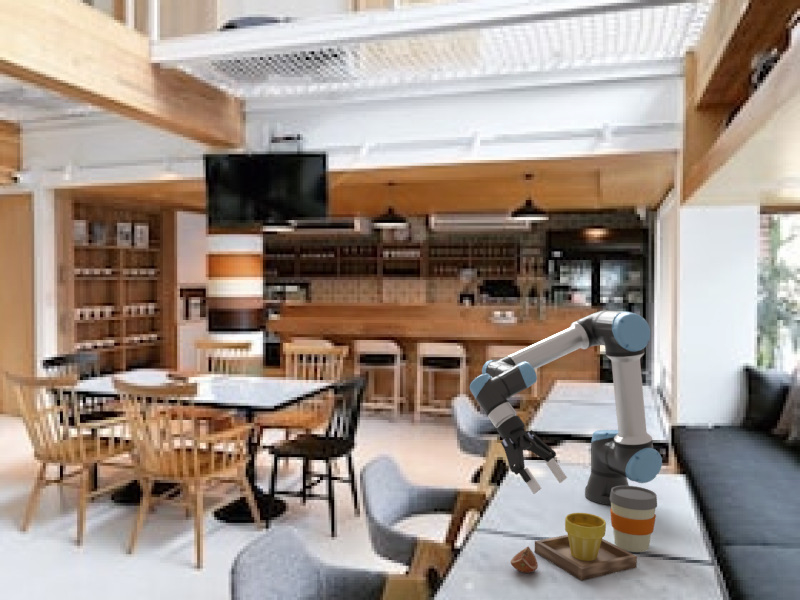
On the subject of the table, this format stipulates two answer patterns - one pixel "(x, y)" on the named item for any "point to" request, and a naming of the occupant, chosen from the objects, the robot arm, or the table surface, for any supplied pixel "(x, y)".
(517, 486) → the table surface
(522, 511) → the table surface
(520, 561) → the fruit slice
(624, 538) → the reusable coffee cup
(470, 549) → the table surface
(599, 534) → the plant pot
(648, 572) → the table surface
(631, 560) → the walnut tray
